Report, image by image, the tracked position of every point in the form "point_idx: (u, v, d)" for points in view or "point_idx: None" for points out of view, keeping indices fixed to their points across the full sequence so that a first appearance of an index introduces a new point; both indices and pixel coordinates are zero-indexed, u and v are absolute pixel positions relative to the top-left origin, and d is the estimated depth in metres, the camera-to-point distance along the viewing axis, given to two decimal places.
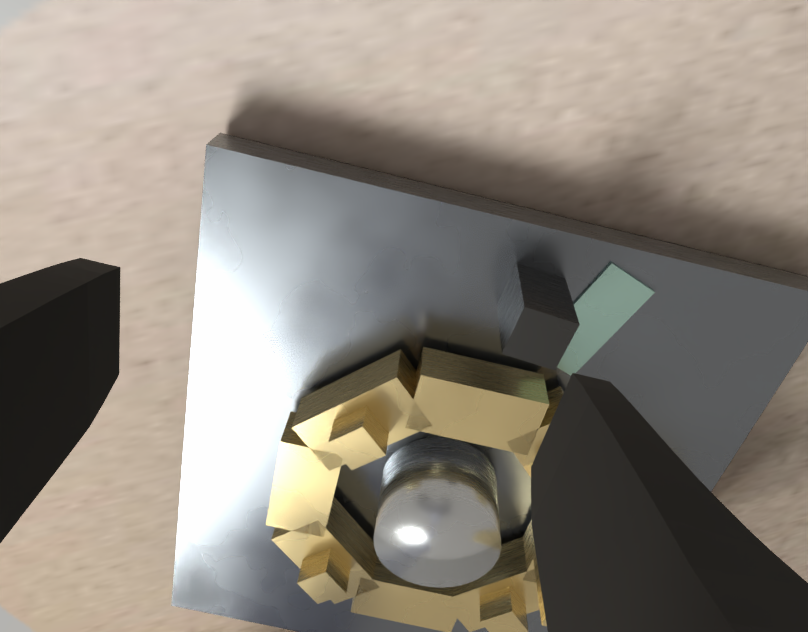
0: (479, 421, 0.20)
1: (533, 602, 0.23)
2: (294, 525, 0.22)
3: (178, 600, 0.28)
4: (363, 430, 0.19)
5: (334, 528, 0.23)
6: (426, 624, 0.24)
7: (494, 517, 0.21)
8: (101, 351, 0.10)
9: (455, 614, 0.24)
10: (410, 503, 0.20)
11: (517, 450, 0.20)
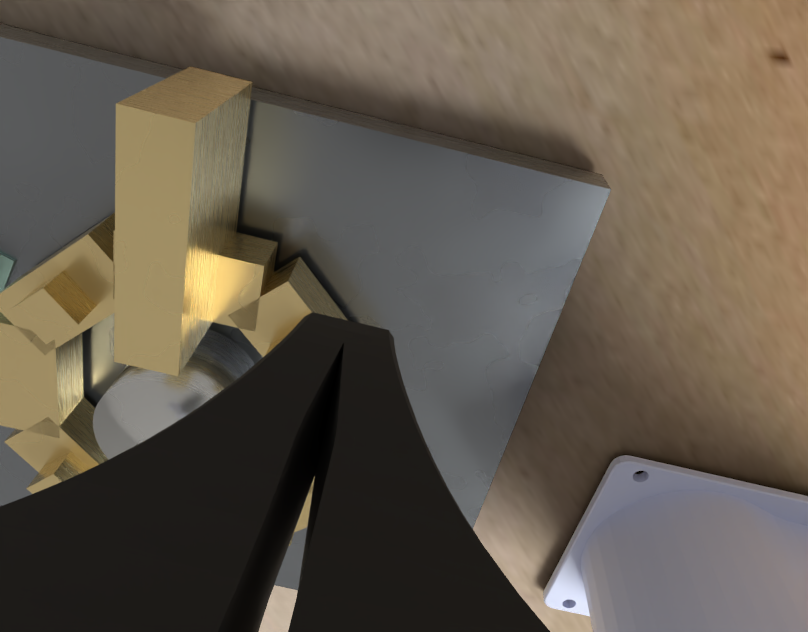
0: (27, 378, 0.19)
1: (296, 317, 0.17)
2: None
3: None
4: (29, 488, 0.20)
5: None
6: None
7: (123, 377, 0.18)
8: None
9: None
10: (108, 458, 0.19)
11: (51, 344, 0.18)
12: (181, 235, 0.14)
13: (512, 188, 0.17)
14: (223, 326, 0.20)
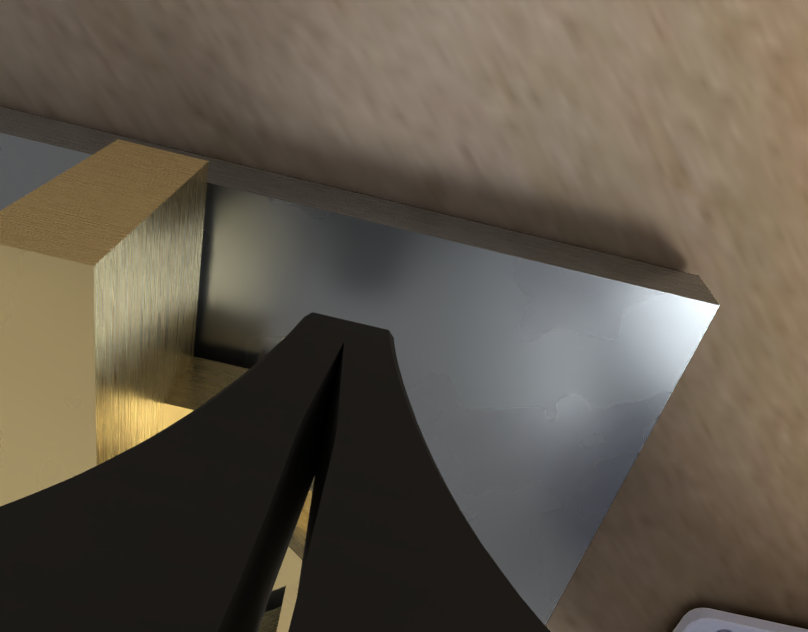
0: None
1: None
2: None
3: None
4: None
5: None
6: None
7: None
8: None
9: None
10: None
11: None
12: (85, 422, 0.09)
13: (578, 303, 0.12)
14: None
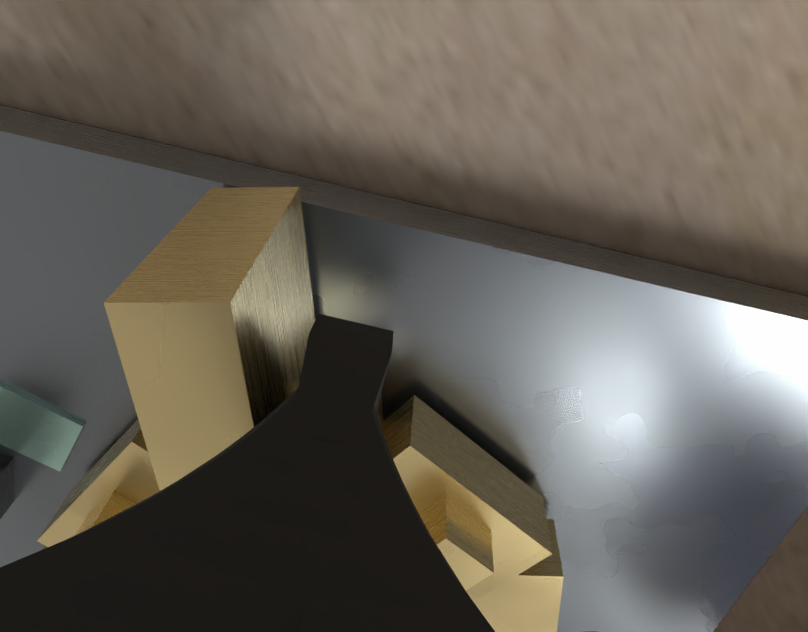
0: None
1: (432, 488, 0.12)
2: None
3: None
4: None
5: None
6: (549, 608, 0.14)
7: None
8: None
9: (507, 578, 0.13)
10: None
11: None
12: None
13: (785, 346, 0.12)
14: None
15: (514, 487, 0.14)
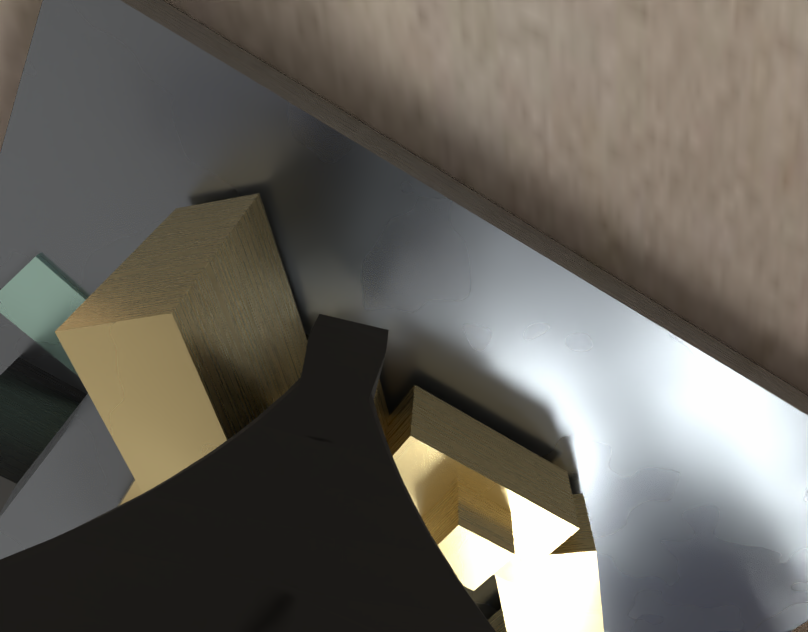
0: None
1: (442, 476, 0.12)
2: None
3: None
4: None
5: None
6: (588, 585, 0.13)
7: None
8: None
9: (538, 559, 0.13)
10: None
11: None
12: None
13: None
14: None
15: (533, 465, 0.13)
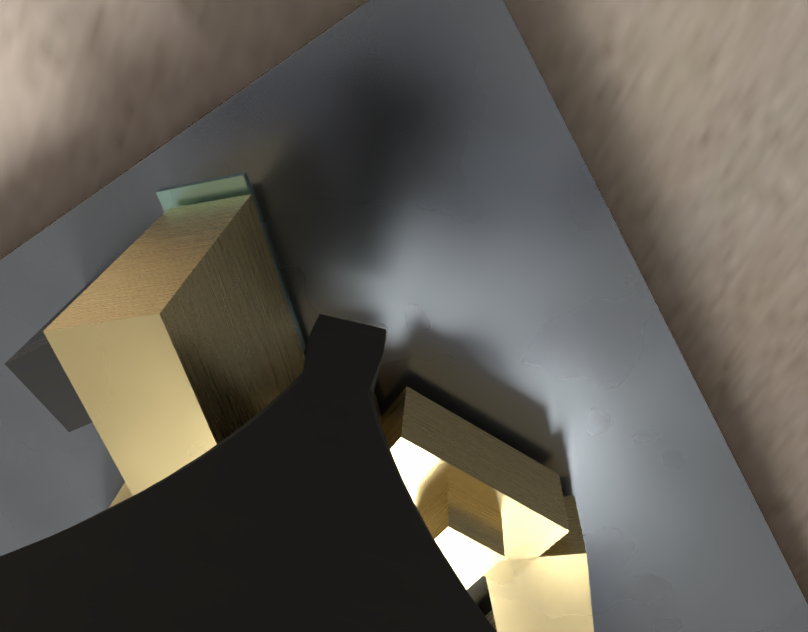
0: None
1: (432, 477, 0.12)
2: None
3: None
4: None
5: None
6: (578, 587, 0.13)
7: None
8: None
9: (529, 562, 0.13)
10: None
11: None
12: None
13: None
14: None
15: (524, 467, 0.13)
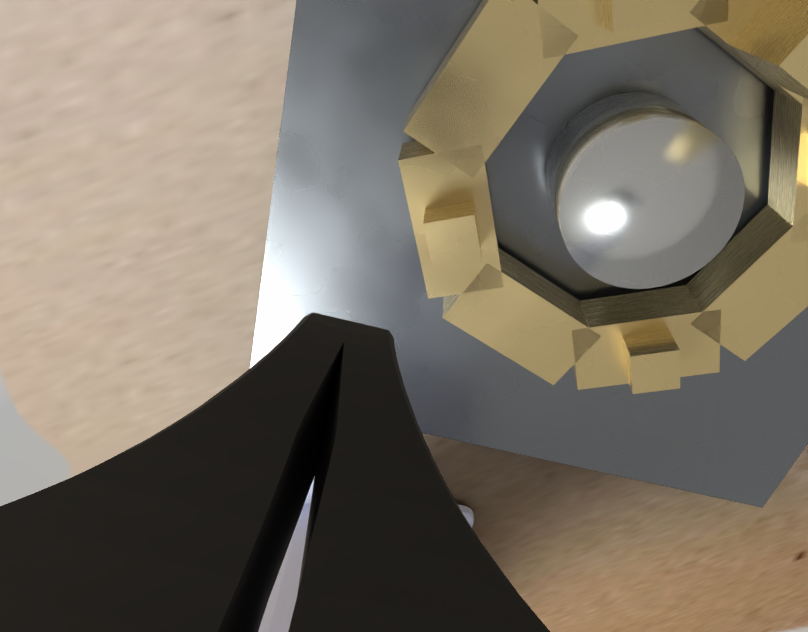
0: (496, 83, 0.15)
1: None
2: (568, 357, 0.18)
3: None
4: (428, 225, 0.15)
5: (602, 319, 0.18)
6: None
7: None
8: None
9: None
10: (625, 129, 0.14)
11: (563, 47, 0.14)
12: None
13: (781, 452, 0.22)
14: None
15: None
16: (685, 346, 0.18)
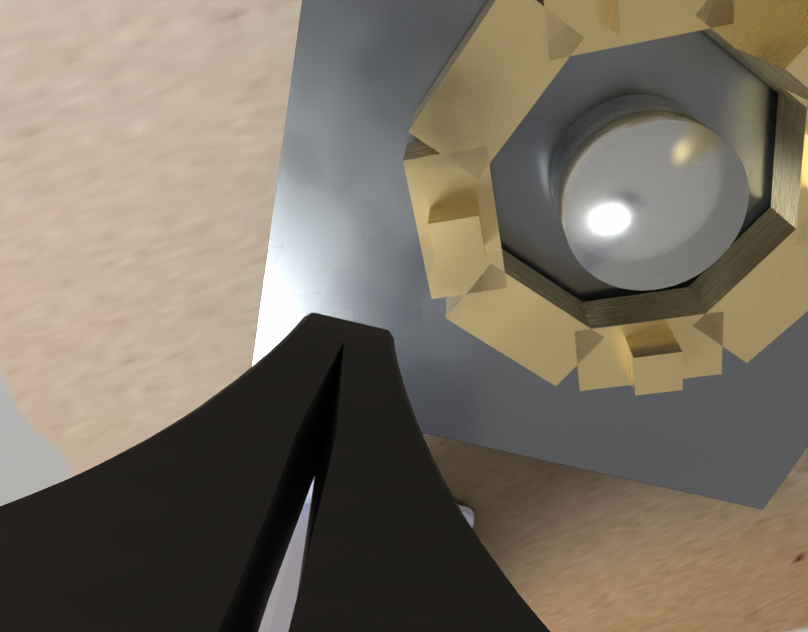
0: (502, 84, 0.15)
1: None
2: (571, 358, 0.18)
3: None
4: (432, 225, 0.15)
5: (604, 320, 0.18)
6: None
7: None
8: None
9: None
10: (630, 131, 0.14)
11: (569, 48, 0.14)
12: None
13: (781, 454, 0.22)
14: None
15: None
16: (687, 348, 0.18)
